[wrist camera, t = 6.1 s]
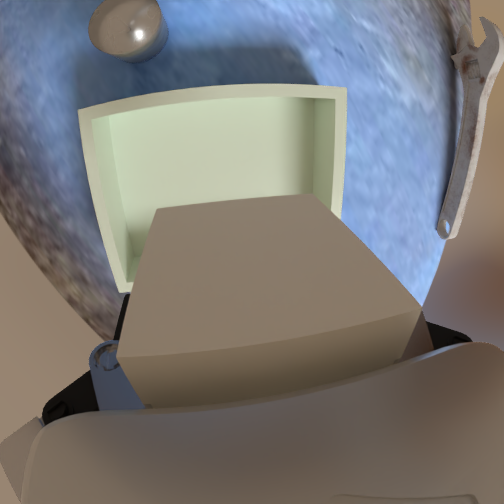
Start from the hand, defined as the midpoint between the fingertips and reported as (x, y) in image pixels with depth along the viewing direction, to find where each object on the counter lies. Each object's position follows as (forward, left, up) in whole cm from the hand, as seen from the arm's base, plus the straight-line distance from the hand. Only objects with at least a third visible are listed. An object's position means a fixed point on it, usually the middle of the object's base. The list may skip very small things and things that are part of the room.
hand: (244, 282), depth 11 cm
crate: (0, 0, -17) cm, 17 cm away
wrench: (-6, +29, -17) cm, 34 cm away
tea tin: (-14, -6, -17) cm, 23 cm away
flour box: (0, 0, -1) cm, 1 cm away
